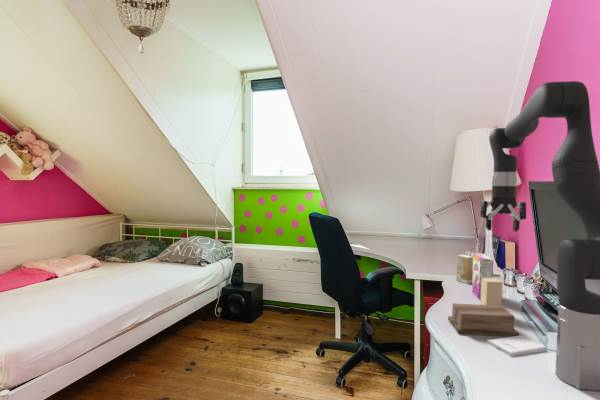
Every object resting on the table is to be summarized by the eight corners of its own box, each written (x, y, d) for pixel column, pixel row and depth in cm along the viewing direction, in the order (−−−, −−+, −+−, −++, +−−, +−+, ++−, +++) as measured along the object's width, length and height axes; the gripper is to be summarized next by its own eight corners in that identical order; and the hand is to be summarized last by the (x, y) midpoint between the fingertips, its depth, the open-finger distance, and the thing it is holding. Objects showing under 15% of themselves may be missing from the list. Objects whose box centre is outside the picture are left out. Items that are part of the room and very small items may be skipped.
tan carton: (501, 316, 123) (502, 282, 122) (485, 315, 124) (487, 281, 123) (495, 311, 128) (496, 278, 127) (480, 310, 129) (481, 277, 128)
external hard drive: (546, 352, 98) (510, 358, 95) (520, 339, 106) (486, 344, 103) (546, 347, 98) (510, 352, 95) (521, 334, 106) (486, 339, 103)
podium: (518, 337, 106) (519, 317, 106) (458, 333, 109) (458, 314, 108) (502, 322, 117) (503, 304, 117) (448, 319, 120) (448, 302, 119)
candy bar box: (471, 291, 151) (472, 253, 150) (484, 292, 150) (485, 253, 149) (478, 300, 140) (480, 258, 139) (492, 301, 139) (494, 259, 138)
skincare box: (455, 280, 168) (456, 254, 167) (462, 279, 170) (463, 254, 169) (467, 284, 162) (468, 257, 161) (474, 283, 164) (474, 256, 163)
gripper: (486, 184, 123) (484, 231, 124) (531, 185, 121) (528, 232, 122) (479, 184, 131) (477, 228, 131) (521, 185, 128) (519, 230, 129)
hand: (502, 230), depth 127 cm, fingers open, 8 cm apart
